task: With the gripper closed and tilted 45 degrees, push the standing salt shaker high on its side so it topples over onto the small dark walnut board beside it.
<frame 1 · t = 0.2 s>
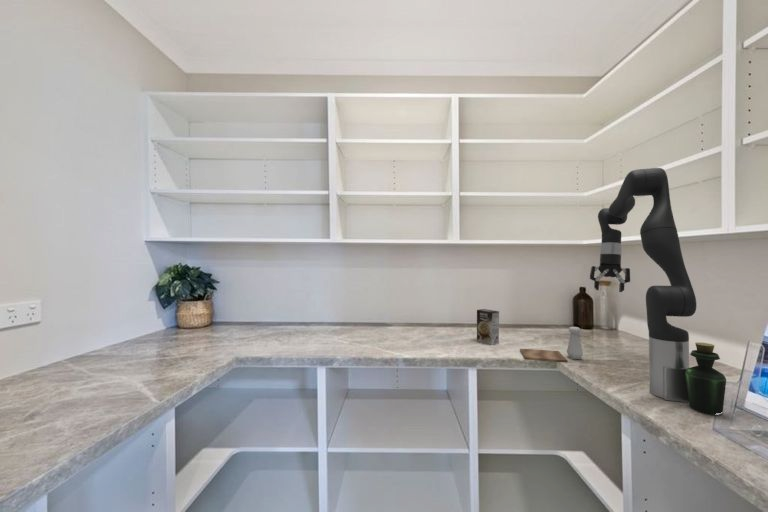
hand: (608, 291, 141), 28 cm above the countertop, tool pointing down, fingers open, 8 cm apart
coffee box: (487, 343, 163), on the countertop
walnut board: (542, 355, 140), on the countertop
salt shaker: (574, 358, 137), on the countertop
potion bottle: (705, 410, 89), on the countertop
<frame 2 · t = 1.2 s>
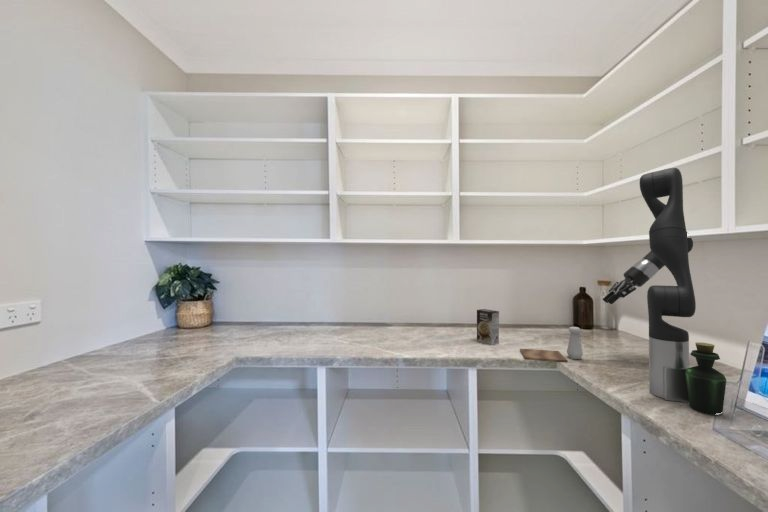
hand: (606, 301, 134), 24 cm above the countertop, tool tilted 45°, fingers open, 3 cm apart
nothing on the countertop moved.
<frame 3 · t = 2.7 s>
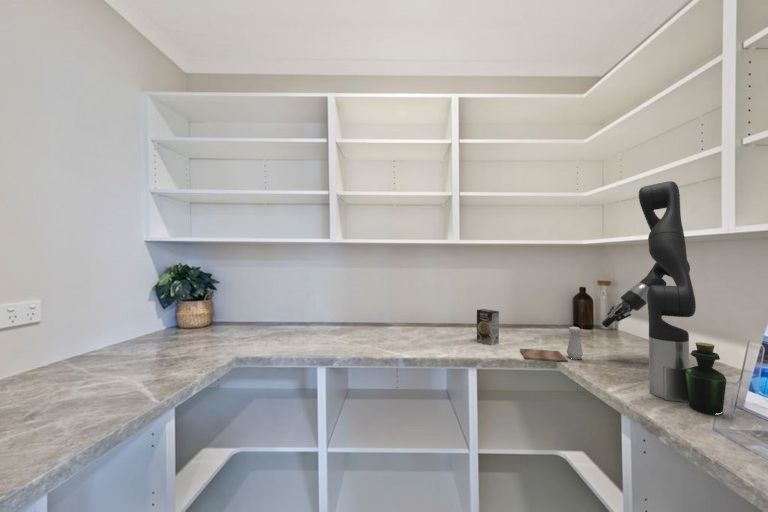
hand: (603, 325, 135), 14 cm above the countertop, tool tilted 45°, fingers closed
nothing on the countertop moved.
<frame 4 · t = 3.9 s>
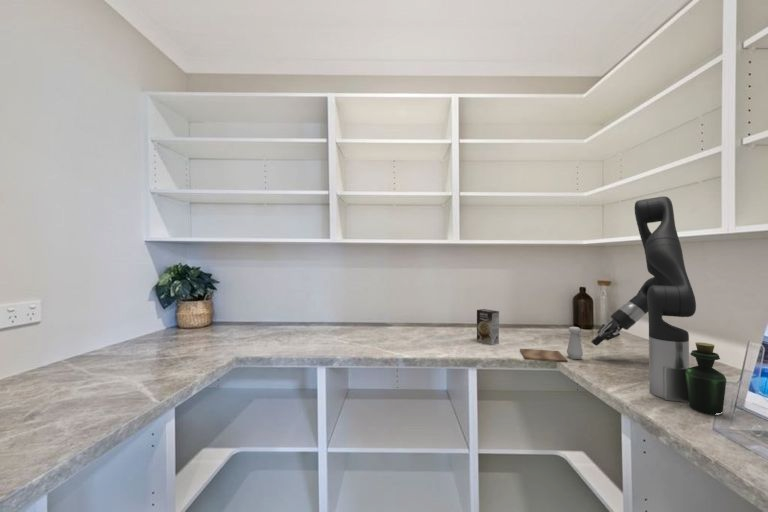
hand: (593, 343, 135), 6 cm above the countertop, tool tilted 45°, fingers closed
nothing on the countertop moved.
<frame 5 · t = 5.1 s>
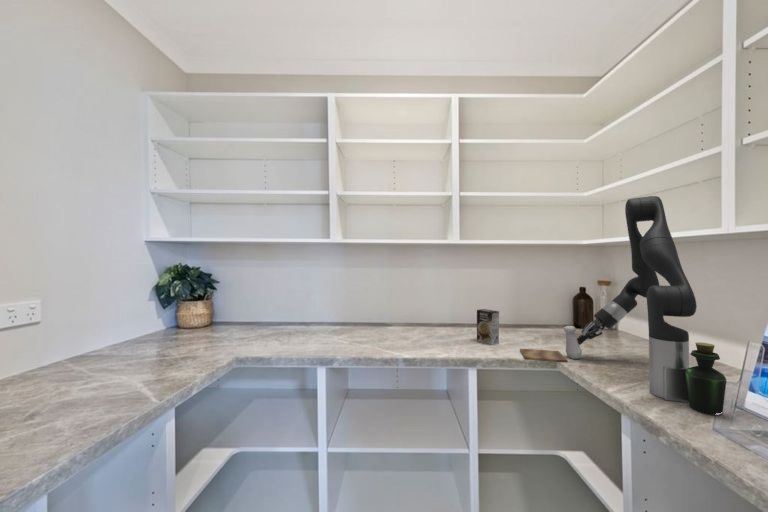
hand: (577, 342, 137), 7 cm above the countertop, tool tilted 45°, fingers closed
salt shaker: (574, 357, 137), on the countertop, touching gripper
everything else where it was.
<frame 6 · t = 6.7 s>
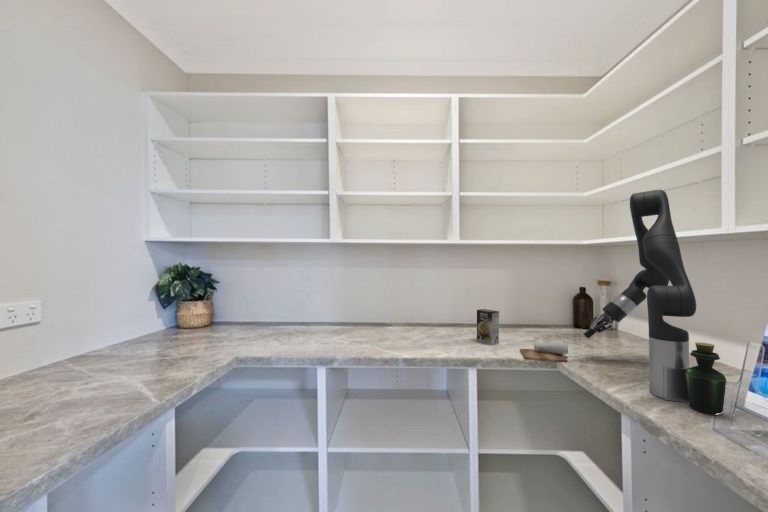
hand: (585, 336, 136), 9 cm above the countertop, tool tilted 45°, fingers closed
salt shaker: (568, 348, 138), point 4 cm above the countertop, touching walnut board
everything else where it was.
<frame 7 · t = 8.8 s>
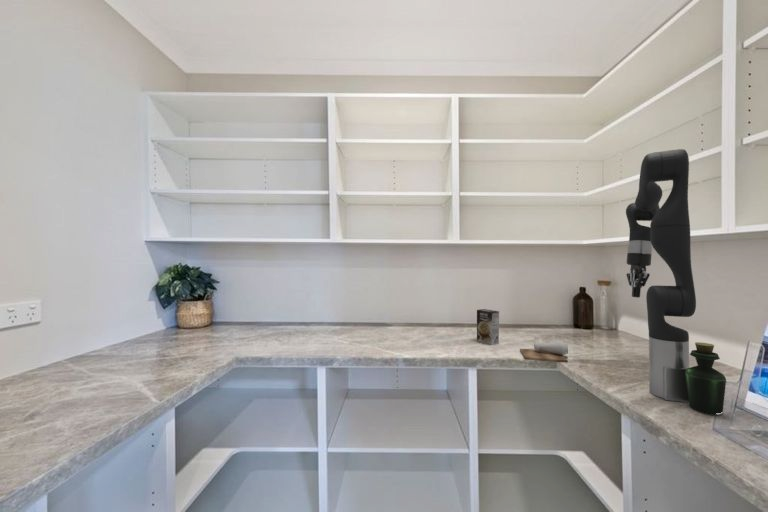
hand: (635, 297, 127), 27 cm above the countertop, tool pointing down, fingers closed
nothing on the countertop moved.
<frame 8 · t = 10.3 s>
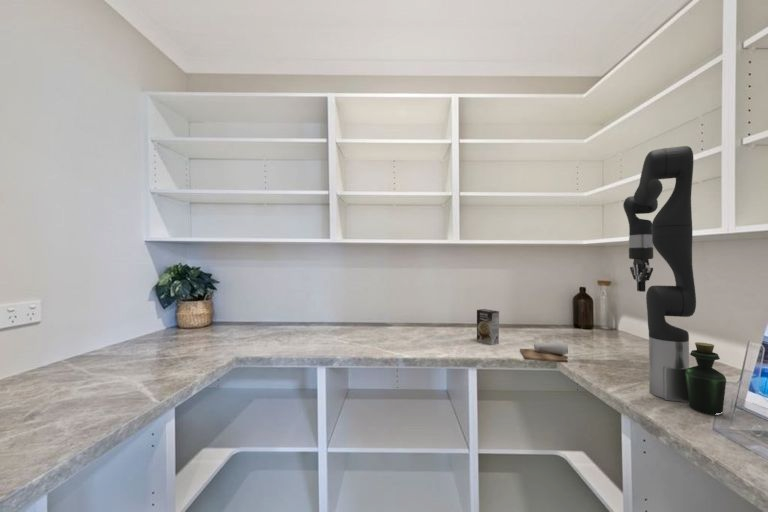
hand: (641, 291, 127), 29 cm above the countertop, tool pointing down, fingers closed
nothing on the countertop moved.
at the end: salt shaker tilted 95°; salt shaker touching walnut board; salt shaker 10.2 cm from the walnut board (horizontally) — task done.
